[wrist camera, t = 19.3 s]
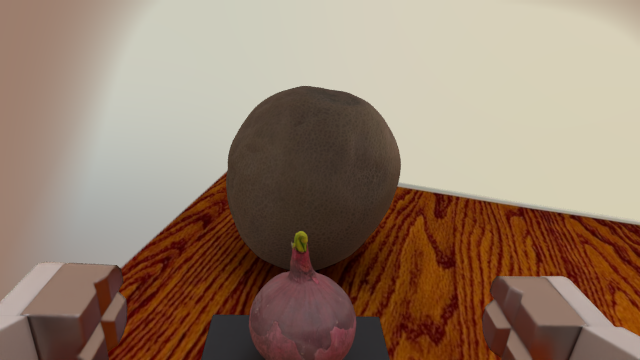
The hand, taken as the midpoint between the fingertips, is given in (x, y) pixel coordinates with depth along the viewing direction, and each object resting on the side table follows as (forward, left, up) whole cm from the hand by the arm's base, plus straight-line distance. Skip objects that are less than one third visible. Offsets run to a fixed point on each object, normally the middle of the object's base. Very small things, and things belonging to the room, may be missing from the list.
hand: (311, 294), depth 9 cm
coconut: (+1, +25, -16) cm, 30 cm away
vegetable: (0, +12, -16) cm, 19 cm away
